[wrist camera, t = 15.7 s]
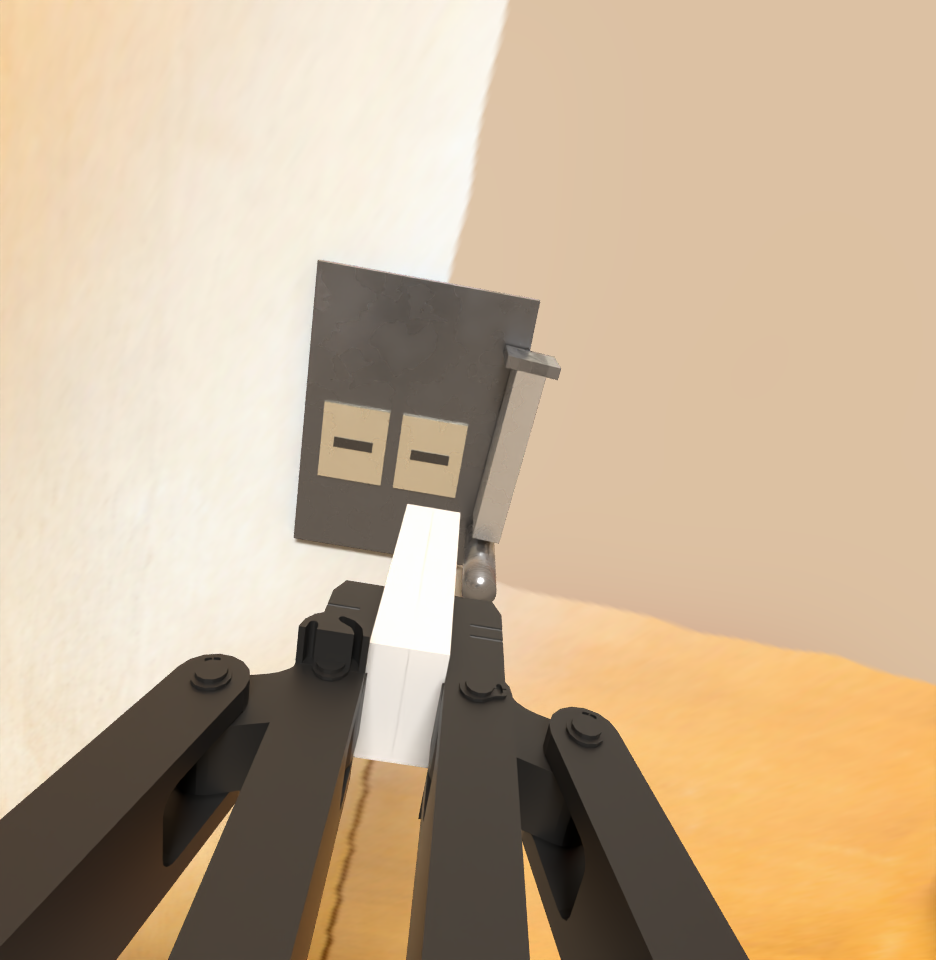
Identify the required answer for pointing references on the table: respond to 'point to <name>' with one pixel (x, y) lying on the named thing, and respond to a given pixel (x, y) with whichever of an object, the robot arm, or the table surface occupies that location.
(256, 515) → the table surface
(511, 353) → the brushed metal block
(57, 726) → the table surface
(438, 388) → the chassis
